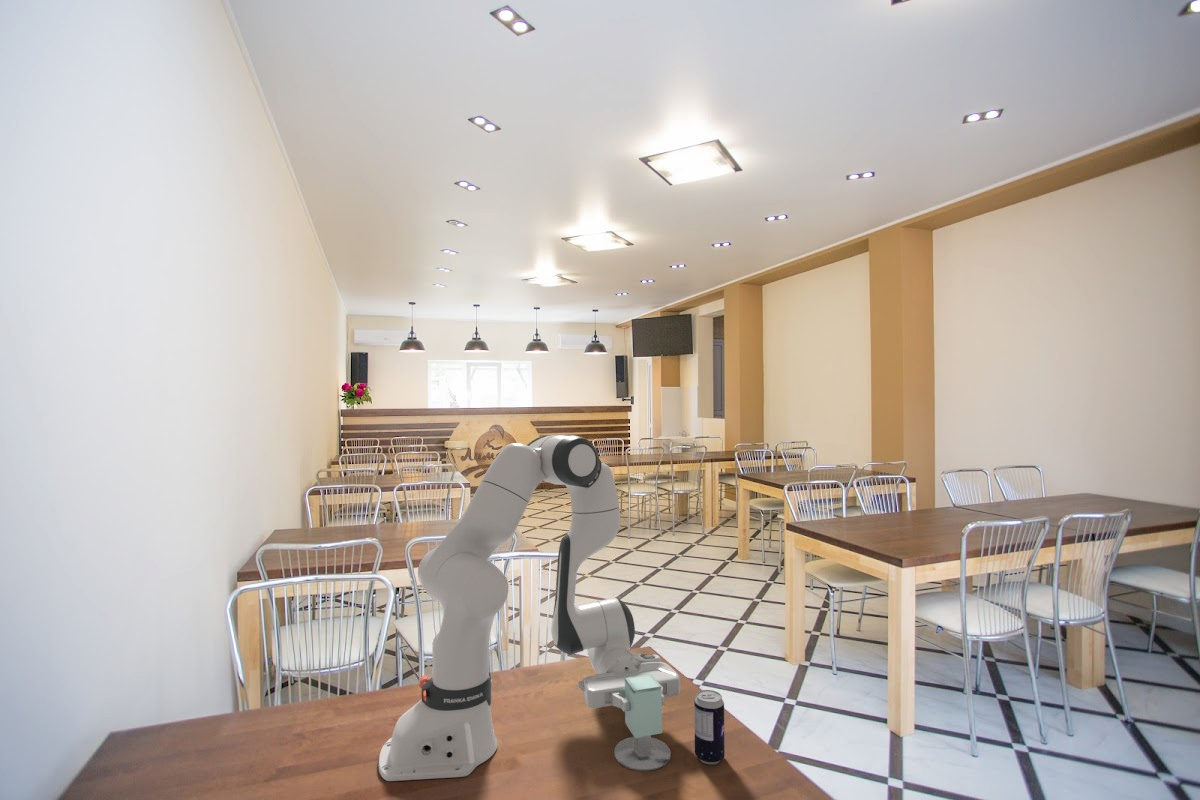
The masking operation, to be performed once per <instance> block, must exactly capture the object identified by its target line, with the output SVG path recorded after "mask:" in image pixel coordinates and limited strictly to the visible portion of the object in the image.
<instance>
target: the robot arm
mask: <svg viewBox="0 0 1200 800" xmlns="http://www.w3.org/2000/svg"><path fill="white" fill-rule="evenodd" d="M541 483H549V484H552V485H557V486H558V485H559V486H565V487H566V488H567V490H568V493H569V496H570V505H571V506H570V507H571V523H570V526H569V530H568V532H567V533H566V534H565V535H564V536H563V537H562V538H561V540H560V543H559V546H558V547H559V548H558V556H557V566H556V583H555V596H554V606H553V607H554V608H553V612H552V613H553V614H552V621H551V629H550V631H551V639H552V642H553V644H554V646H555V648H557V649H558V650H559V651H561V652H562V653H563V654H566V655H568V656H572V655H575V654H578V653H581V652H583V651H585V650H587V656H588V659H589V663H590V665H591V666H592V668H593V670H594V671H595V673H596V674H591V675H588V676H586V677H584V678H583V679H582V680H579V681H578V682H577V686H578V689H579V690H580V691H581V692H583V694H584V695H583V696H584V701H585V703H586V706H587V707H588V708H589V709H598V708H605V707H611V706H612V707H616V708H619V709H621V710H622V711H623V713H625V711H630V710H631V702H630V701H629V699H628V698H625V678H627V677H634V676H640V675H647V674H651V675H652V676H653V677H654V678H655V679H656V681H657V682H658V683H659V684H660V685H661V692H662V706H665V701H666V700H665V699H666V697H673V696H678V695H679V694H680V692H681V677H680V675H679V673H678V672H676V671H675V670H674V668H672V667H671V666H670V665H669V664H668V663H666V662H664V661H661V660H662V659H661V657H660V656H659V655H658V654H646V653H639V652H638V653H637V652H633V651H630V649H631V648H632V646H633V644H634V639H635V634H636V628H635V621H634V617H633V614H632V612H631V610H630V608H629V606H628V605H627V604H625V602H624V601H622V599H620V598H618V597H612V598H606V599H605V598H604V599H601V600H596V601H593V602H592V601H591V602H588V603H584V604H578V605H577V604H576V605H575V599H576V598H575V597H576V585H577V583H576V582H577V573H578V571H579V568H580V567H581V565H582V564H583V563H584V562H585V561H586V560H587V559H589V558H590V557H592V556H593V555H595V554H596V553H598V552H600V551H601V550H603V549H604V548H606V547H608V546H609V545H610V544H611V543H612V542H613V541H614V540H615V538H616V537H617V536H618V533H619V531H620V528H621V513H620V512H621V511H620V503H619V502H620V501H619V496H618V491H617V485H616V482H615V479H614V474H613V472H612V469H611V467H610V466H609V465H608V464H606V463H604V462H603V461H602V460H601V459H600V455H599V453H598V450H597V449H596V447H595V446H594V443H592V442H591V441H590V440H588V439H587V438H586V437H583V436H580V435H579V436H578V435H564V434H553V435H552V434H551V435H544V436H539V437H537V438H535V439H533V440H532V441H530V442H529V443H528V444H525V443H519V442H512V443H509V444H507V445H505V446H503V448H502V449H501V450H500V451H499V453H498V454H497V455H496V457H495V458H494V459H493V461H492V462H491V464H490V465H489V467H488V468H487V470H486V472H484V475H483V477H482V478H481V481H480V483H479V485H478V486H477V489H476V491H475V492H474V494H473V495H472V498H471V500H470V501H469V504H468V506H467V507H466V509H465V511H464V513H463V514H462V515H461V517H460V519H459V520H458V521H457V523H456V524H455V525H454V526H453V528H452V529H451V530H449V532H448V534H447V535H446V536H445V537H444V538H443V540H442V541H441V542H440V543H439V544H438V545H437V546H436V547H433V549H430V550H429V551H428V552H427V553H425V555H424V556H423V557H422V559H421V560H420V561H419V565H418V568H417V578H418V580H419V583H420V585H421V587H422V588H423V590H424V591H425V593H426V594H427V595H428V596H429V597H430V598H432V599H434V600H435V601H437V602H438V603H440V604H441V606H442V613H443V615H442V620H441V625H440V628H439V631H438V633H436V635H435V636H434V638H433V639H432V640H433V641H432V642H431V643H432V645H431V646H432V647H431V648H432V649H431V650H432V651H431V652H432V656H431V657H432V659H431V660H432V663H431V667H432V671H431V672H432V674H431V676H432V677H431V678H430V677H429V675H422V676H421V677H420V678H419V680H418V681H419V683H418V684H419V688H420V689H421V699H420V700H418V701H417V702H416V703H415V704H414V705H412V707H410V708H409V709H408V710H407V711H405V712H404V713H403V714H401V715H400V716H399V718H398V720H397V721H396V723H395V726H394V729H393V731H392V737H390V738H389V739H388V740H387V741H386V742H385V743H384V744H383V745H382V747H381V750H380V752H379V757H378V772H379V775H380V776H381V778H382V779H383V780H385V781H386V782H399V781H411V780H412V781H414V780H430V779H446V778H463V777H464V778H465V777H467V776H469V775H470V774H471V773H473V771H474V770H475V769H476V768H477V767H478V766H479V765H481V764H482V763H485V762H486V761H488V760H489V759H490V758H491V757H492V756H493V755H494V754H495V753H496V750H497V748H498V740H497V737H496V734H495V730H494V725H493V717H492V710H491V704H492V698H493V683H492V682H493V681H492V676H491V672H490V638H491V632H492V627H493V623H494V620H495V617H496V614H498V613H499V611H500V610H502V609H503V607H504V605H505V603H506V601H507V598H508V595H509V583H508V580H507V578H506V576H505V574H504V573H503V572H502V570H501V569H500V568H499V567H497V566H496V565H495V563H493V562H492V561H490V560H489V559H490V557H491V556H492V555H493V554H494V552H496V550H497V549H498V548H500V547H501V546H502V545H503V544H505V543H507V542H509V541H510V540H511V538H513V536H514V534H515V532H516V530H517V528H518V526H519V524H520V522H521V520H522V517H523V516H524V513H525V512H526V509H527V507H528V506H529V504H530V501H531V498H532V496H533V494H534V491H535V490H536V489H537V487H538V486H539V485H540V484H541Z"/></svg>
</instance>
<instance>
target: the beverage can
mask: <svg viewBox="0 0 1200 800" xmlns="http://www.w3.org/2000/svg"><path fill="white" fill-rule="evenodd" d="M693 704H694V710H693V711H694V712H693V713H694V754H695V756H696V757H697V758H698V760H699V761H700V762H701V763H703V764H706V765H717V764H719V763H720V762H721V761H722V760H723V759H724V758H725V756H726V755H725V753H726V752H725V701H724V700H723V696H722V694H721V693H719V692H718V691H716V690H713V689H702V690H699V691H697V693H696V697H695V698H694V703H693Z"/></svg>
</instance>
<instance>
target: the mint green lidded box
mask: <svg viewBox="0 0 1200 800" xmlns="http://www.w3.org/2000/svg"><path fill="white" fill-rule="evenodd" d="M625 698H628V699H629V701H630V702H631V710H630V711H625V712H624V719H625V721H624V723H625V725H626V726H627V729H628V730H629V731H630V733H631V735H632V737H634V738H638V737H644V736H649V735H651V736H654V735H659V734H663V709H662V706H663V705H662V692H661V685H660V684H659V683H658V682H657V681H656V679H655V678H654V677H653V676H652V675H651V674H647V675H640V676H634V677H627V678H625Z"/></svg>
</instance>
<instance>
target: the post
mask: <svg viewBox="0 0 1200 800" xmlns="http://www.w3.org/2000/svg"><path fill="white" fill-rule="evenodd" d="M613 754H614V758H615V760H616V761H617V762H618V764H619V765H620V766H623V767H624V768H626V769H629V770H631V771H636V772H651V771H656V770H660V769H661V768H663V767H665V766H666V765H668V764H669V762H670V760H671V755H672V754H671V749H670V748H669V746H668V745H667V744H666V742H664V741H662V740H660V739H658V738H656V737H652V735H649V736H644V737H638V738H634V736H631V737H627V738H623V739H622V740H620V741H619V742H618V743H617V744H616V745H615V747H614V752H613Z"/></svg>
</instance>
